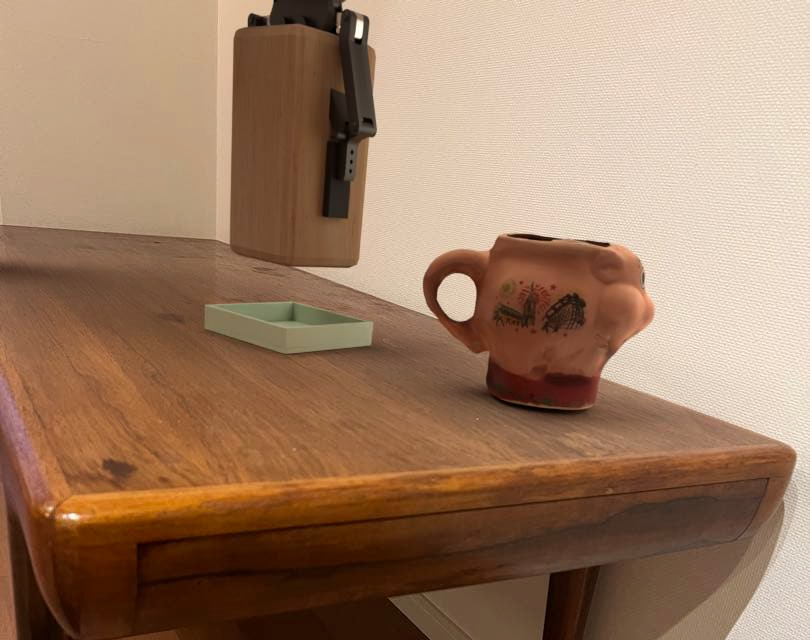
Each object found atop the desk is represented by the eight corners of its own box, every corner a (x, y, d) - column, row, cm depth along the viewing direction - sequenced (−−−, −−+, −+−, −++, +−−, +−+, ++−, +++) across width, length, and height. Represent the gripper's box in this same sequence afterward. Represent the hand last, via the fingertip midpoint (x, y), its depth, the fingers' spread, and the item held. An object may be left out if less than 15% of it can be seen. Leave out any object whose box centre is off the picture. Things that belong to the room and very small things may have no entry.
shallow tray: (204, 328, 83) (204, 304, 82) (292, 323, 92) (293, 301, 91) (284, 354, 76) (286, 328, 75) (371, 345, 85) (373, 322, 84)
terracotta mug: (418, 406, 63) (441, 224, 58) (404, 372, 74) (422, 216, 69) (651, 427, 66) (695, 254, 60) (604, 391, 77) (637, 242, 71)
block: (225, 253, 80) (229, 25, 72) (301, 256, 87) (313, 47, 79) (285, 267, 74) (296, 20, 66) (362, 269, 81) (381, 45, 73)
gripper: (435, -54, 66) (406, 226, 75) (258, -36, 78) (251, 202, 88) (377, -83, 60) (353, 223, 70) (196, -59, 73) (195, 197, 82)
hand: (296, 211), depth 79 cm, fingers closed on block, 10 cm apart
